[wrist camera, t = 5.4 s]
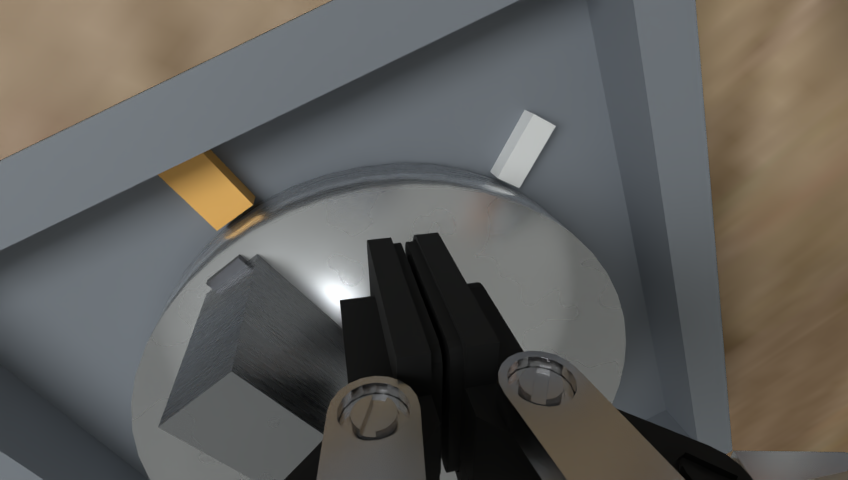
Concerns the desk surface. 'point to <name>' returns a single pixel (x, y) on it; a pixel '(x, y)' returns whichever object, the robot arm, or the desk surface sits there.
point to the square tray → (354, 147)
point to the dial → (321, 315)
